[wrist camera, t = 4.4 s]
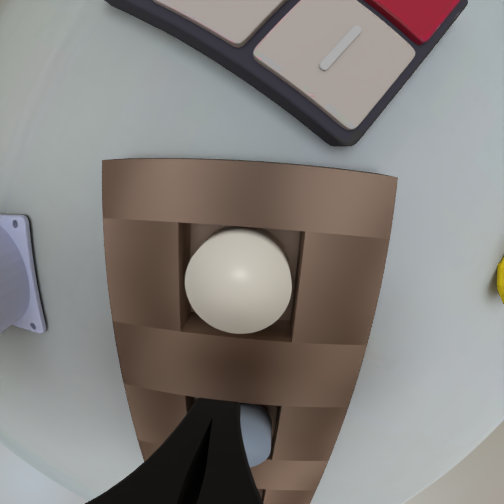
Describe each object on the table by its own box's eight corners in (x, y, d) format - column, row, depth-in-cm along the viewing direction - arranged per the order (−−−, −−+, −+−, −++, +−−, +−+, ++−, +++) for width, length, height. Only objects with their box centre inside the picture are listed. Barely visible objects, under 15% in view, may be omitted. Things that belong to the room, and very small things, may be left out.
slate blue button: (197, 439, 17) (191, 463, 15) (193, 390, 16) (185, 415, 14) (268, 447, 17) (266, 471, 15) (275, 399, 16) (274, 425, 14)
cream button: (196, 308, 16) (186, 327, 14) (196, 220, 14) (184, 230, 13) (284, 316, 16) (285, 337, 14) (294, 227, 14) (297, 239, 12)
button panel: (168, 490, 23) (162, 511, 20) (128, 158, 14) (102, 160, 12) (298, 504, 22) (298, 526, 20) (377, 173, 14) (397, 177, 11)
